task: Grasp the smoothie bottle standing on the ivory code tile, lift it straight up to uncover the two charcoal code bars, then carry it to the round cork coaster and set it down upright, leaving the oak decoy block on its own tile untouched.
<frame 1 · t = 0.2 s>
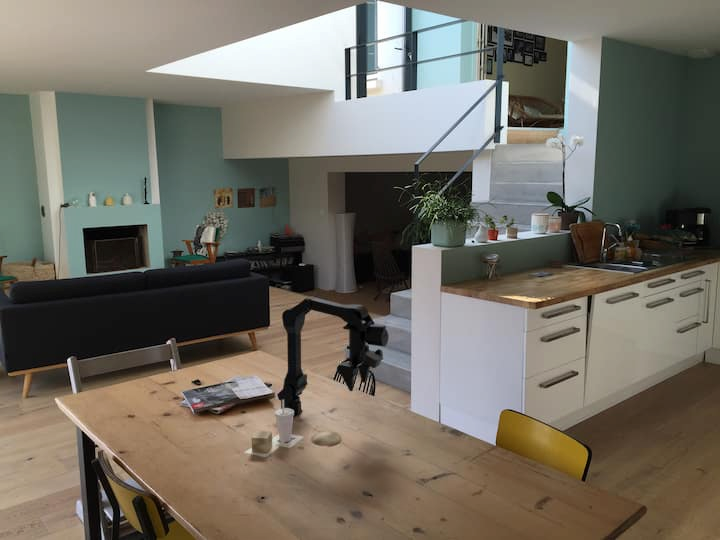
hand: (357, 386, 205), 14 cm above the table, fingers open, 9 cm apart
code tile: (285, 440, 197), on the table
decoy block: (262, 449, 190), resting on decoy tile
smoothie: (285, 440, 197), resting on code tile
coaster: (326, 439, 198), on the table
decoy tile: (262, 450, 190), on the table
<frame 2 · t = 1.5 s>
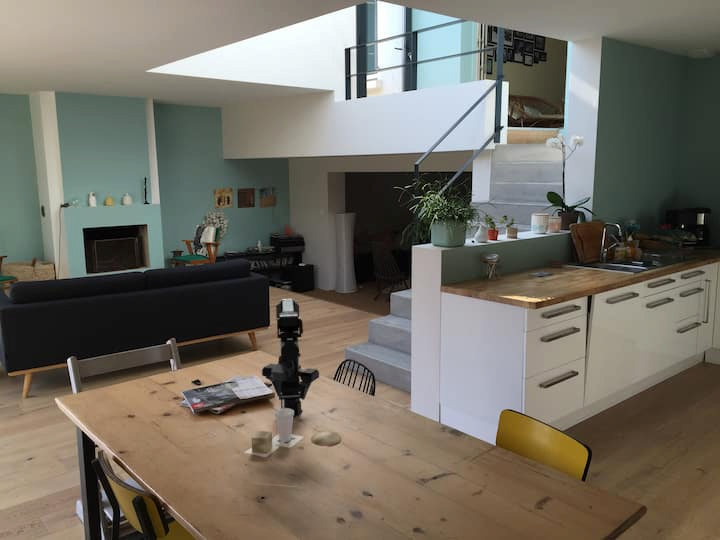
hand: (291, 397, 198), 13 cm above the table, fingers open, 9 cm apart
nothing on the table moved.
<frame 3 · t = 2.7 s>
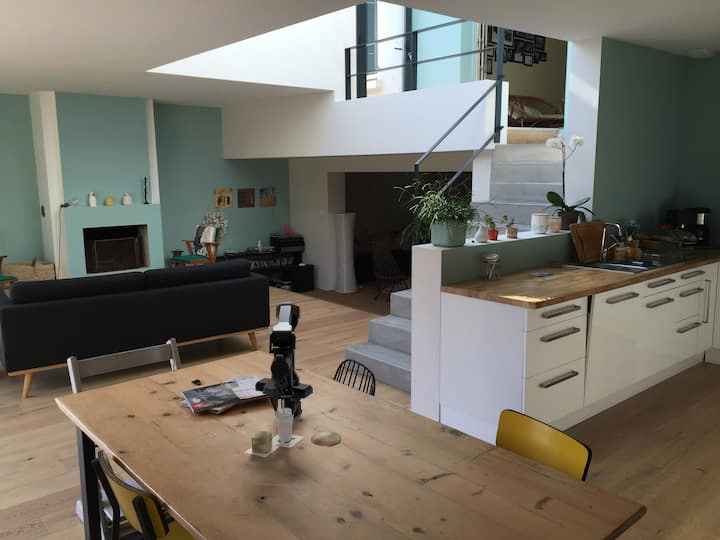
hand: (284, 412, 196), 10 cm above the table, fingers closed on smoothie, 6 cm apart
smoothie: (285, 440, 197), resting on code tile, touching gripper
everything else where it was.
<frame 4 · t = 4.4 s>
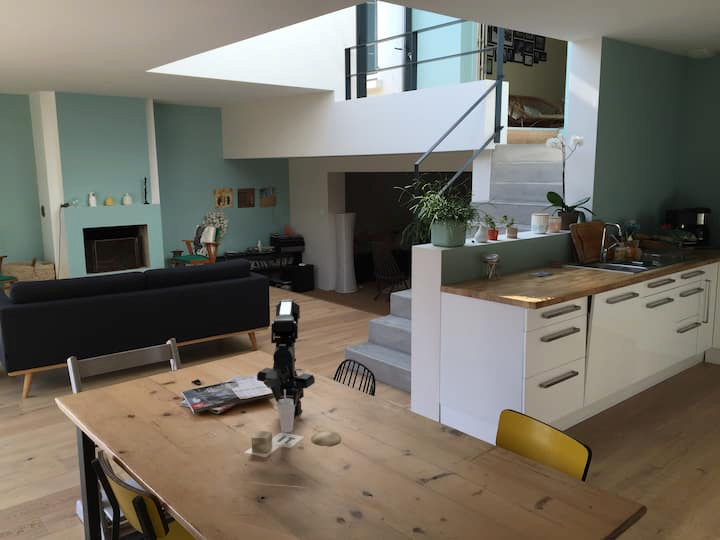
hand: (286, 402, 195), 13 cm above the table, fingers closed on smoothie, 6 cm apart
smoothie: (287, 430, 197), point 3 cm above the table, touching gripper
everything else where it was.
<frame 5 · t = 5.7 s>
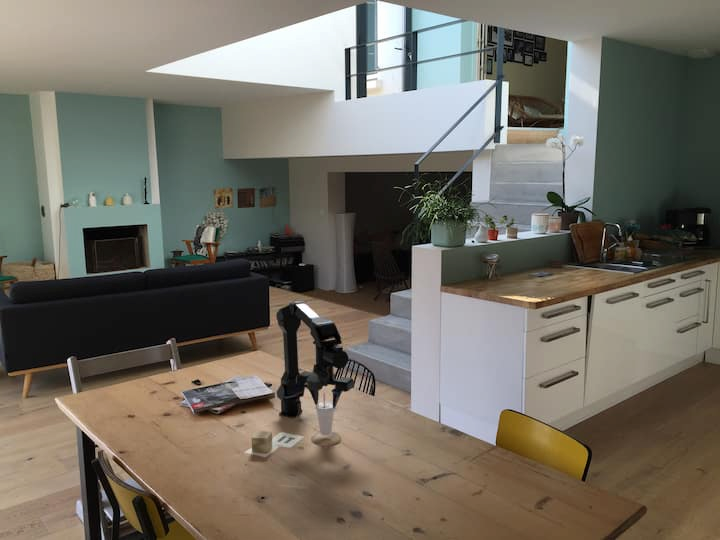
hand: (325, 406, 196), 12 cm above the table, fingers closed on smoothie, 6 cm apart
smoothie: (325, 433, 197), point 2 cm above the table, touching gripper
everything else where it was.
when the fingers open (10 cm above the table, at t = 6.4 s): smoothie stays where it is, resting on coaster.
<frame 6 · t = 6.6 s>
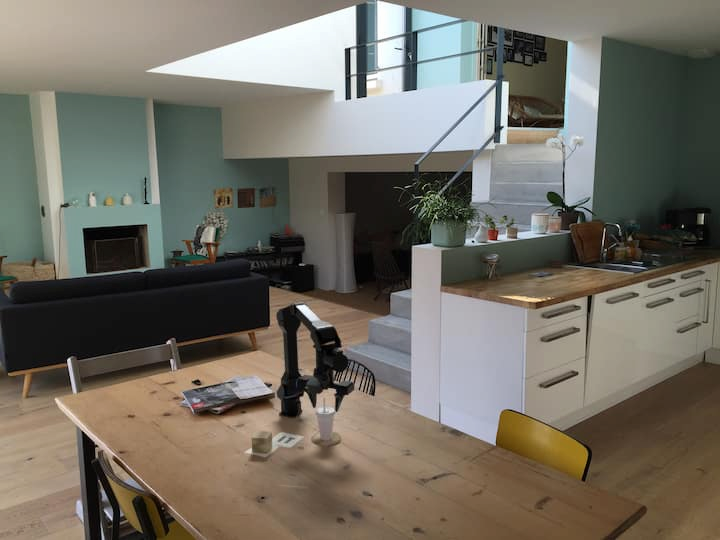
hand: (325, 409, 196), 10 cm above the table, fingers open, 8 cm apart
smoothie: (325, 438, 198), resting on coaster
everything else where it was.
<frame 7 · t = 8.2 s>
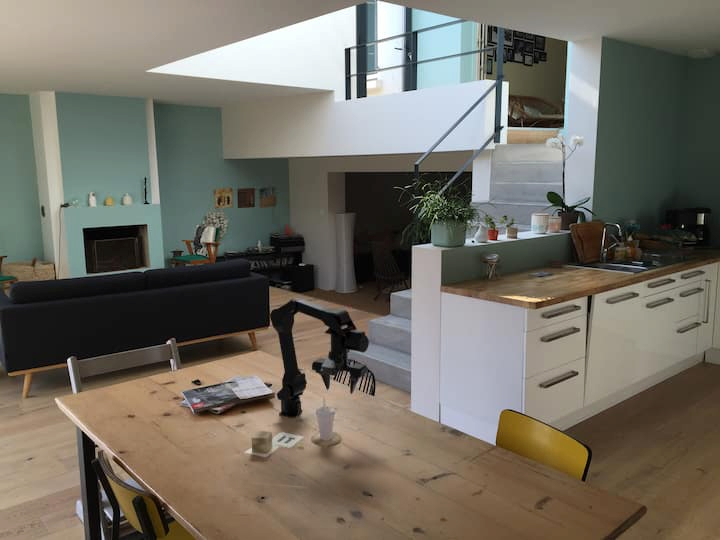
hand: (339, 391, 205), 13 cm above the table, fingers open, 9 cm apart
nothing on the table moved.
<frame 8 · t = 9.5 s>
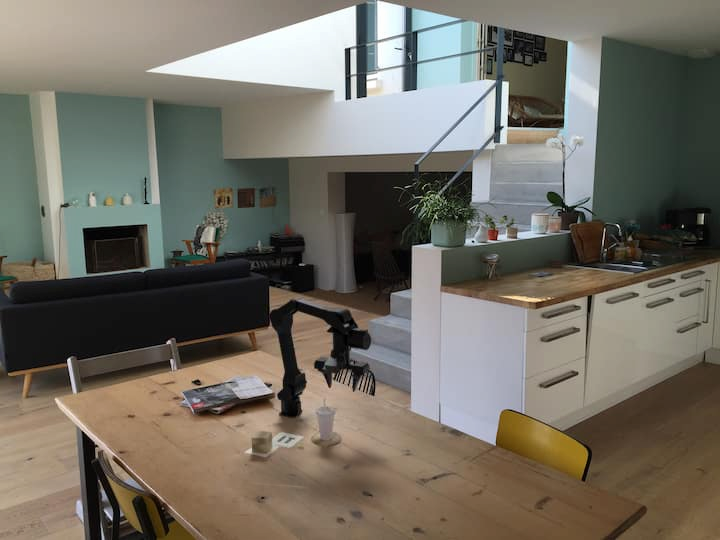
hand: (341, 389, 206), 13 cm above the table, fingers open, 9 cm apart
nothing on the table moved.
at the end: smoothie 0.1 cm from the coaster (horizontally); smoothie tilted 0°; smoothie moved 13.3 cm from its start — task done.
